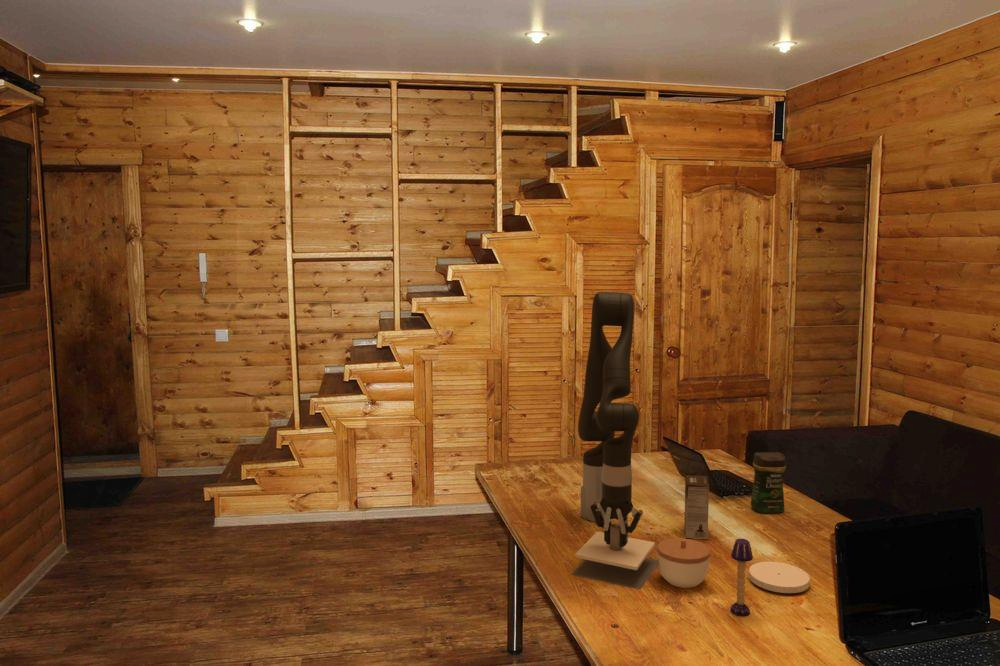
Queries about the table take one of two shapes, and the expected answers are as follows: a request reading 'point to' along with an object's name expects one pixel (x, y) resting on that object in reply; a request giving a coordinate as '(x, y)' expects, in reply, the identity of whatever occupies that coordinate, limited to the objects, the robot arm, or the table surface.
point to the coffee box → (696, 506)
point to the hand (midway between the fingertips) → (615, 544)
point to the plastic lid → (779, 577)
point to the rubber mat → (617, 573)
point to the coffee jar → (768, 482)
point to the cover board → (615, 550)
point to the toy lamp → (741, 575)
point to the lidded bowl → (683, 561)
